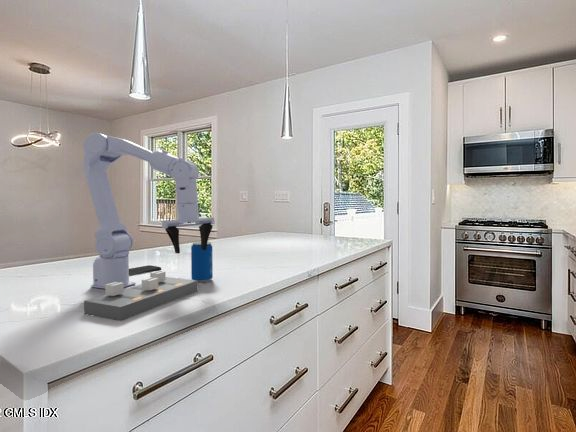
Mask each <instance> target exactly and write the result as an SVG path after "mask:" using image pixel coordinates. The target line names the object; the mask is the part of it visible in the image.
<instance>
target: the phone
mask: <svg viewBox="0 0 576 432" xmlns="http://www.w3.org/2000/svg"><path fill="white" fill-rule="evenodd" d="M156 271H162V267H160V266H157V265H149V264H148V265H143V266H138V267H131V268H130V267H129V277H131V276H137V275H141V274H147V273H152V272H156Z"/></svg>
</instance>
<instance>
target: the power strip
mask: <svg viewBox="0 0 576 432" xmlns="http://www.w3.org/2000/svg"><path fill="white" fill-rule="evenodd" d="M198 290H199V289H198V282H197V280H192V279H185V278H177V277H170V276H166V280H165V281H162V282H158V288H156V289H153V290H150V291H149V290H142V283H141V284H137V285H134V286H133V285H132V286H131V287H128V288H127V287H126V288H124V293H122V294H118V295H115V296H110V295H105V294H103V295H99V296H96V297H92V298H89V299H86V300H83V314H84V315H86V314H88V315H87V316H91V315H93V317H98V318H102V319H103V318H104V319H108V320H114V321H117V322H118V321H119V322H122V321H125V320H128V319H129V318H132V317H135V316H137V315H140V314H143V313H145V312H147V311H151V310H153V309H155V308H158V307H161V306H163V305H166V304H168V303H170V302H173V301H176V300H178V299H180V298H184V297H185V296H188V295H192V294H195V293H197V292H198Z"/></svg>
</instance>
